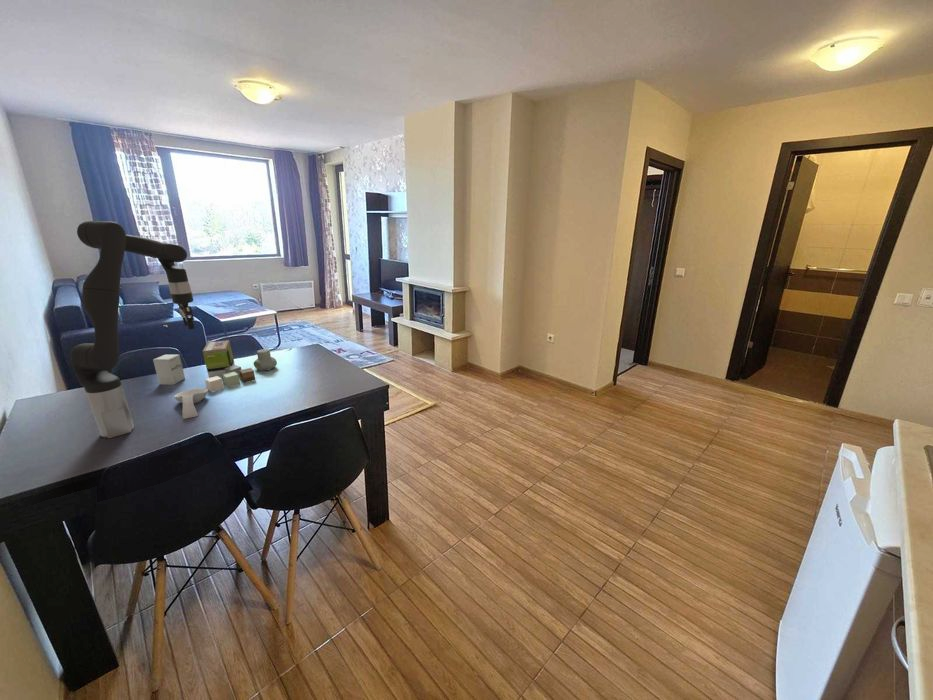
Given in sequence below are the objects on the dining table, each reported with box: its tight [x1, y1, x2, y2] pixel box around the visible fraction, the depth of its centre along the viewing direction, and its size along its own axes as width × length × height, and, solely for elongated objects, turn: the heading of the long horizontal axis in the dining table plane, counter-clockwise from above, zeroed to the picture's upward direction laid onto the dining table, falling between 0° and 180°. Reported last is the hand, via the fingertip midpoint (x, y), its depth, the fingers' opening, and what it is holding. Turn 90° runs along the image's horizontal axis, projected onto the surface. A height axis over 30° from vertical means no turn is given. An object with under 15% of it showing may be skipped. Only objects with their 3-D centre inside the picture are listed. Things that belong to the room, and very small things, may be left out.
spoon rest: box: [173, 387, 209, 420], centre depth 155 cm, size 24×12×7 cm, turn 33°
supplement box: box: [152, 354, 186, 386], centre depth 178 cm, size 7×7×13 cm
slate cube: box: [225, 364, 242, 378], centre depth 186 cm, size 5×5×5 cm
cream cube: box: [204, 376, 224, 393], centre depth 172 cm, size 5×5×5 cm
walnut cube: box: [239, 367, 256, 384], centre depth 182 cm, size 5×5×5 cm
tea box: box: [202, 339, 236, 378], centre depth 189 cm, size 15×10×15 cm
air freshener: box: [253, 348, 278, 371], centre depth 195 cm, size 11×8×10 cm
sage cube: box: [222, 372, 241, 388], centre depth 177 cm, size 5×5×5 cm
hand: (189, 327), depth 172 cm, fingers open, 8 cm apart
